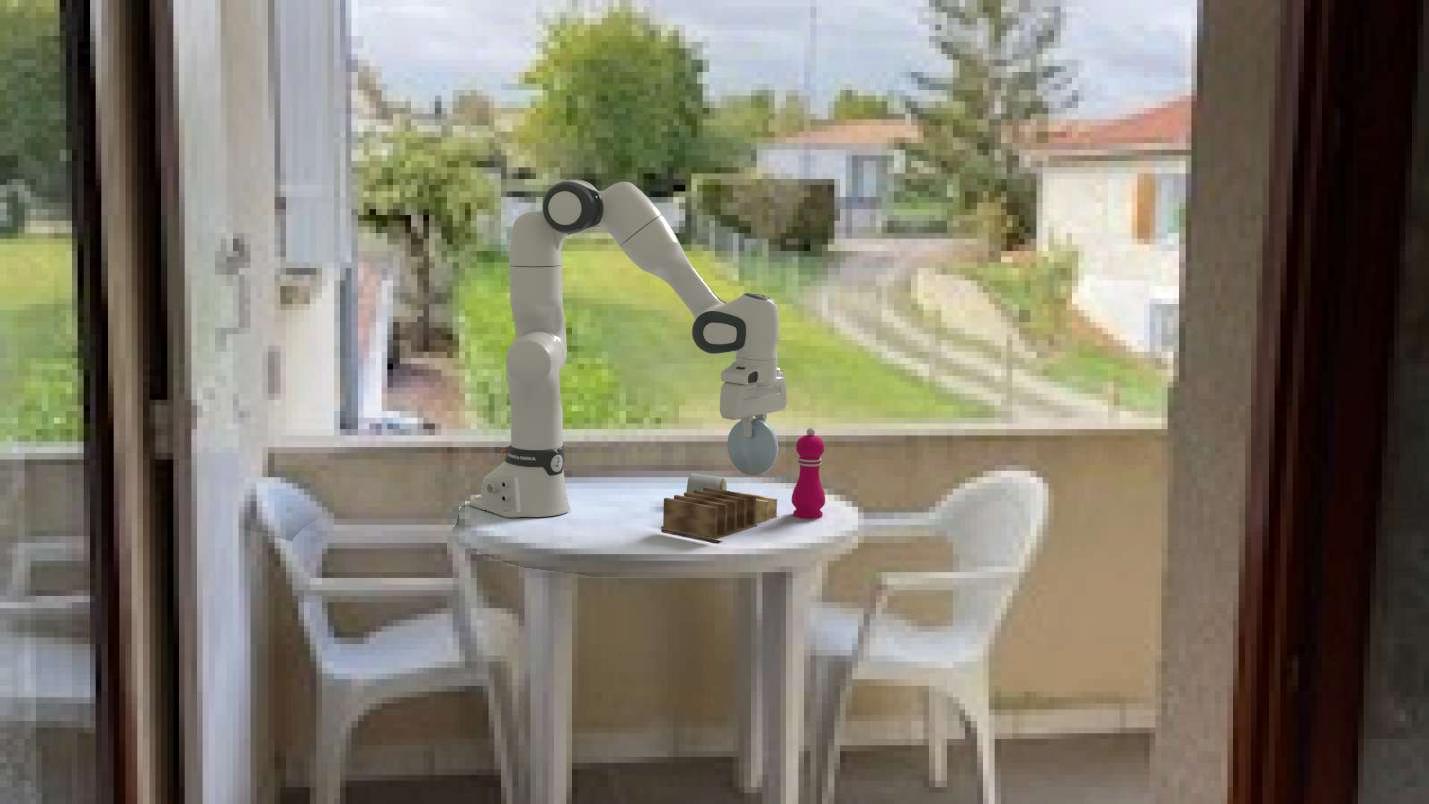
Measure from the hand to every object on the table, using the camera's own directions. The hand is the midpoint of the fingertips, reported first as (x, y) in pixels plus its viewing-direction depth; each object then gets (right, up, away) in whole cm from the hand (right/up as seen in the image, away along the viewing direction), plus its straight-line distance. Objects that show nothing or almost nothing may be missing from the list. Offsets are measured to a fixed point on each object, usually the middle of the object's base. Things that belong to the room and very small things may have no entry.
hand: (752, 435), depth 310 cm
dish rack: (-9, -20, -8) cm, 23 cm away
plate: (0, -8, +1) cm, 8 cm away
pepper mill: (+12, -18, +4) cm, 22 cm away
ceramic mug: (-10, -16, +14) cm, 24 cm away
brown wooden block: (0, -18, +3) cm, 18 cm away
